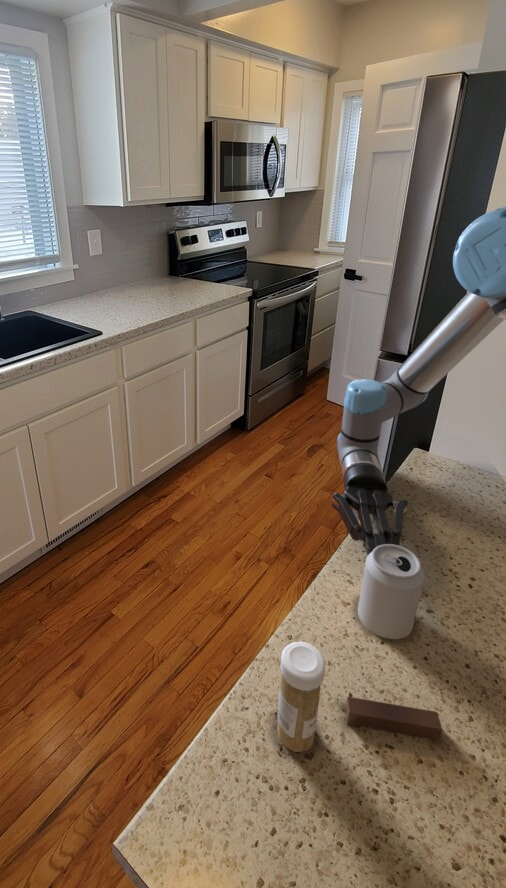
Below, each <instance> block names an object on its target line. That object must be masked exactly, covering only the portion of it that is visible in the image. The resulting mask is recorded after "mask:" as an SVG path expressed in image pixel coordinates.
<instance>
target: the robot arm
mask: <svg viewBox="0 0 506 888" xmlns="http://www.w3.org/2000/svg"><path fill="white" fill-rule="evenodd" d="M455 244H456V245H455V249H454V251H453V256H452V267H453V272H454V275H455V277H456V279H457V281H458V283H459V284H460V286H461V287H463V288H464V290H466V291H467V293H466V294H465V295H464V296H463V298H462V299H460V300H459V302H458V303H457V304H456V305H455V306H454V307H453V308H452V309H451V311H449V313H448V314H447V315H446V316H445V317H444V318H443V319H442V320H441V321H440V323H438V325H437V326H435V328H434V329H432V331H431V332H430V333H429V334H428V335H427V336H426V338H425V339H424V340H423V341H422V342H420V344H419V345H418V347H416V349H414V351H413V352H412V353H411V354H410V355H409V356H408V357H407V358H406V360H404V361H403V363H402V364H401V365H400V366H399V367H398V368H397V369H396V371H394V372H393V374H391V376H390V377H389V378H387V379H386V380H384V381H382V382H380V381H378V380H373V379H367V378H363V379H355V380H353V381H350V382H349V383H348V385H347V386H346V392H345V396H344V399H343V412H342V420H341V430H340V433H339V434H338V435H337V441H336V442H337V445H336V451H337V454H338V459H339V464H340V469H341V475H342V481H343V482H342V483H343V488H344V489H343V490H344V491H343V494H340V493H338V492H333V493H332V500H331V507H332V508H333V509H334V510H336V511H337V512H338V515H339V516H340V518H341V520H342V521H343V524H344V526H345V527H346V529H347V532H348V533H349V535H350V537H351V540H353V541H355V542H358V541H362V542H363V544H362V546H363V548H365V551H366V555H367V556H368V555H369V554H370V553H371V552H373V550H374V549H375V548H376V547H377V546H380V545H384V544H393V545H398V546H400V544H401V539H402V533H403V524H404V523H403V522H404V517H405V516H406V514H407V510H408V505H409V501H408V500H407V499H401V500H397V499H394V496H393V494H391V493H390V492H389V489H388V484H387V481H386V478H385V474H384V471H383V468H382V465H381V461H380V458H379V455H378V449H379V443H380V438H381V433H382V432H381V430H382V425H383V423H385V422H386V421H389V420H391V419H392V418H394V417H396V416H399V415H401V414H402V413H404V412H407V411H409V410H412V409H415V408H417V407H418V406H419V405H421V404H422V403H424V402H425V401H426V399H427V398H428V395H429V392H430V391H431V390H432V389H433V388H434V387H435V386H436V385H438V383H439V382H441V380H442V379H444V378H445V377H446V376H447V375H448V374H449V373H450V372H451V371H452V370H454V368H455V367H457V365H458V364H460V363H461V362H462V360H463V359H464V358H465V357H467V356H468V355H469V354H470V353H471V352H472V351H473V350H474V349H475V348H476V347H477V346H478V345H479V344H480V343H481V342H482V341H483V340H485V338H487V336H489V335H490V334H491V333H492V332H493V331H494V330H495V329H496V328H497V327H499V325H500V324H501V323H503V321H505V320H506V206H502V207H499V208H496V209H495V210H492V211H489V212H486V213H484V214H483V215H481V216H479V217H477V218H476V219H475V220H473V221H472V222H471V223H469V225H468V226H466V228H465V229H464V230H463V231H462V232H461V234H460V236H459V237H458V240H457V242H456V243H455ZM390 507H391V508H392V511H393V514H394V517H393V524H392V529H390V525H389V522H388V519H387V515H386V511H387V510H388V509H389V508H390ZM352 508H353V510H355V511H356V512H357V517H356V515H355V513H354V511H353V510H352ZM371 515H372V518H373V521H374V523H375V527H376V530H377V533H376V532H374V528H373V523H372V518H371Z"/></svg>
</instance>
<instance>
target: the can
mask: <svg viewBox="0 0 506 888" xmlns="http://www.w3.org/2000/svg"><path fill="white" fill-rule="evenodd" d="M424 581H425V573H424V569H423V567H422V565H421V561H420V559H419V558H418V556H416V554H414V552H412V550H409V549H407V548H405V547H403V546H401V545H393V544H384V545H380V546H377V547H376V548H375V549H374V550H373V552H371V553H370V554H369V555H367V556H366V559H365V563H364V569H363V575H362V581H361V587H360V593H359V599H358V603H357V604H358V605H357V615H358V619H359V620H360V622H361V624H362V625H363V626H365V628H366V629H367V630H368V631H370V632H371V633H373V634H374V635H376V636H378V637H381V638H384V639H389V640H399V639H404V638H406V637H408V636H409V635H410V633H411V632H412V631H413V628H414V623H415V619H416V615H417V610H418V606H419V602H420V597H421V594H422V589H423V585H424Z"/></svg>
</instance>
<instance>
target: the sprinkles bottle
mask: <svg viewBox="0 0 506 888" xmlns="http://www.w3.org/2000/svg"><path fill="white" fill-rule="evenodd" d="M280 657H281V658H280V666H279V667H280V673H281V675H280V676H281V677H280V682H279V690H278V691H279V692H278V703H277V705H278V706H277V727H276V731H277V736H278V738H279V741H280V743H282V744H283V746H284V747H285V748H287V749H288V750H290V751H292V752H294V753H303V752H307V751H308V750H310V749H311V747H312V746H313V744H314V741H315V735H316V728H317V723H318V714H319V707H320V706H319V705H320V695H321V694H320V693H321V688H322V687H321V686H322V683H323V681H324V679H325V670H326V662H325V659H324V656H323V654H322V653H321V652H320V651H319V650H318V648H317V647H315V646H314V645H312V644H310V643H308V642H304V641H294V642H291V643H288V644H287V645H286V646H285V647H284V648H283V650H282V652H281V656H280Z"/></svg>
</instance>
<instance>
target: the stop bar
mask: <svg viewBox="0 0 506 888" xmlns="http://www.w3.org/2000/svg"><path fill="white" fill-rule="evenodd" d="M344 708H345V717H346V718H345V719H346V724H347V725H348V726H349V725H351V726H354V727H361V728H367V729H372V730H376V731H377V730H378V731H382V732H388V733H395V734H399V735H406V736H411V737H415V738H416V737H417V738H420V739H421V738H422V739H427V740H433V741H437V742H438V741H440V737H441V735H442V731H443V728H442V724H441V721H440V718H439V717H440V716H439V714H438V711H433V710H428V709H422V708H416V707H410V706H405V705H404V706H403V705H399V704H393V703H387V702H381V701H376V700H375V701H374V700H370V699H363V698H357V697H351V696H346V701H345V707H344Z"/></svg>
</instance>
